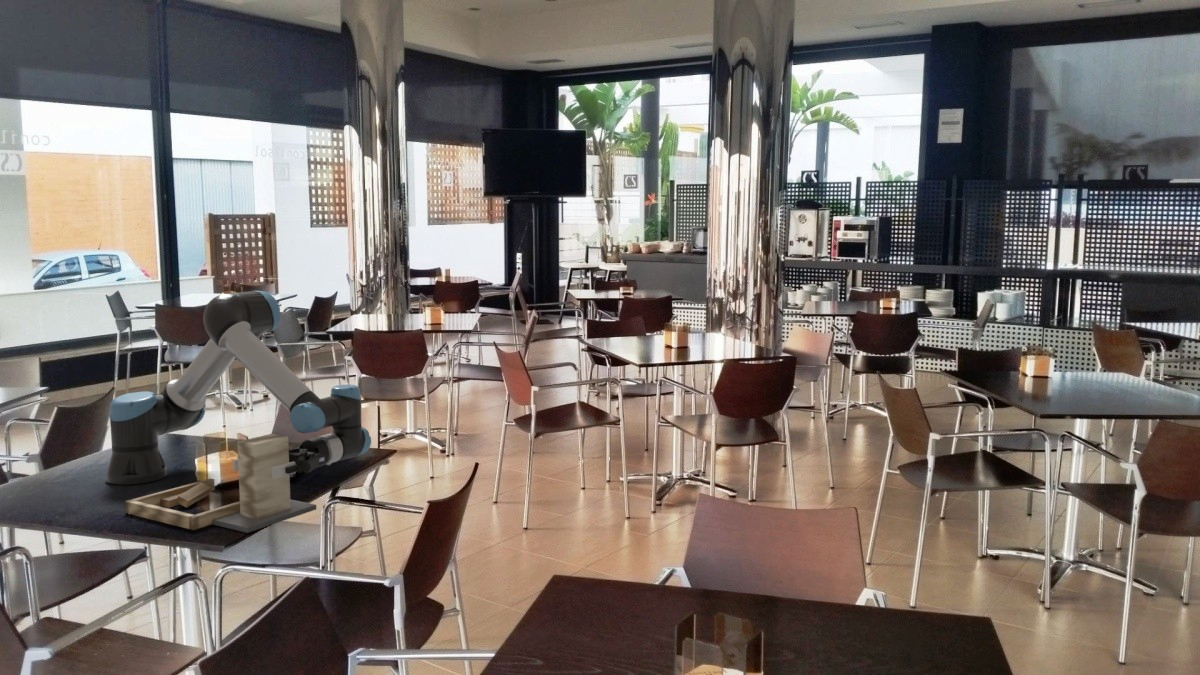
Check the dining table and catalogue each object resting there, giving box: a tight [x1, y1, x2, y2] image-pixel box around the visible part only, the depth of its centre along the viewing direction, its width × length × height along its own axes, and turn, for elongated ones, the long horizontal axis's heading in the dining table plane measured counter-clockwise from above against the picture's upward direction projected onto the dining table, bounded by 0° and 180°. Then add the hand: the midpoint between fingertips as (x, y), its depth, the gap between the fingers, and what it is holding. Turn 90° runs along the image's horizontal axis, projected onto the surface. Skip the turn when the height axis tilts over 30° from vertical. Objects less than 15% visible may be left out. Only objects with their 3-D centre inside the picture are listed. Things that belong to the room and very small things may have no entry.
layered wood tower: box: [237, 433, 291, 519], centre depth 228 cm, size 6×10×18 cm, turn 150°
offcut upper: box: [177, 482, 211, 509], centre depth 240 cm, size 3×9×2 cm, turn 168°
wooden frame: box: [124, 478, 240, 531], centre depth 236 cm, size 26×24×3 cm
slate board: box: [212, 498, 317, 534], centre depth 229 cm, size 12×21×1 cm, turn 150°
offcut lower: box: [159, 492, 208, 509], centre depth 242 cm, size 4×11×2 cm, turn 150°
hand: (252, 469), depth 225 cm, fingers open, 13 cm apart
